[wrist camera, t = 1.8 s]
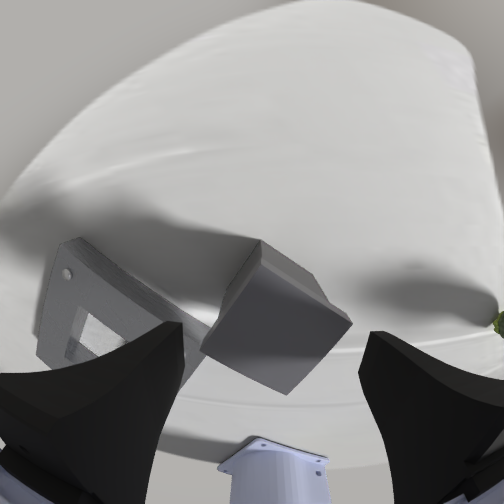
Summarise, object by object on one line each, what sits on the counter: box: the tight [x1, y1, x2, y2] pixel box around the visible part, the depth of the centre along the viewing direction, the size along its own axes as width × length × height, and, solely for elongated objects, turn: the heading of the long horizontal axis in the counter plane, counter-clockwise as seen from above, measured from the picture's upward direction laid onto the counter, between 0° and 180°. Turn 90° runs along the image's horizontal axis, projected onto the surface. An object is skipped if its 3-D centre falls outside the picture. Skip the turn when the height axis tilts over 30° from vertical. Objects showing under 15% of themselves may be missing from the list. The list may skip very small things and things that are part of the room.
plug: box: [199, 240, 353, 396], centre depth 14 cm, size 5×5×7 cm
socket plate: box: [36, 237, 211, 392], centre depth 17 cm, size 12×12×3 cm
